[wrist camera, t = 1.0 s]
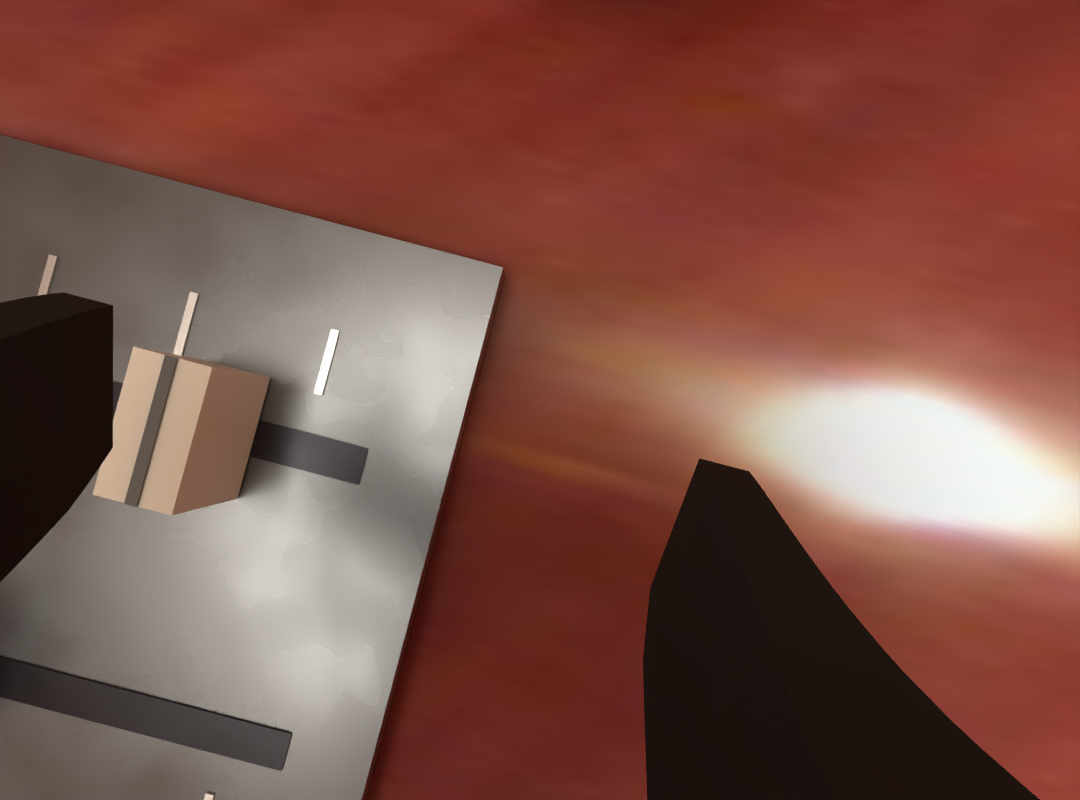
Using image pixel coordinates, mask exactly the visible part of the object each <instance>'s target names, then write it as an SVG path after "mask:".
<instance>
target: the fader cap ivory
mask: <svg viewBox="0 0 1080 800" xmlns="http://www.w3.org/2000/svg"><path fill="white" fill-rule="evenodd" d="M269 381H270V377H267V376H263V375H259V374H256V373H252V372H248V371H244V370H240V369H237V368H233V367H229V366H225V365H221V364H218V363H214V362H210V361H206V360H201V359H196V358H191V357H186V356H180V355H175V354H170V353H165V352H160V351H154V350H149V349H144V348H139V347H134V346H133V350H132V353H131V357H130V361H129V364H128V368H127V371H126V375H125V379H124V382H123V386H122V390H121V393H120V397H119V400H118V404H117V408H116V411H115V415H114V419H113V448H112V450H111V451H110V453H109V454H108V456H107V457H106V459H105V460H104V461H103V463H102V464H101V466H100V469H99V473H98V477H97V480H96V484H95V487H94V491H93V495H96V496H99V497H103V498H107V499H111V500H115V501H118V502H122V503H124V504H126V505H130V506H133V507H141V508H145V509H149V510H152V511H156V512H160V513H164V514H168V515H171V516H172V515H176V514H180V513H184V512H188V511H192V510H196V509H199V508H203V507H207V506H211V505H215V504H219V503H223V502H227V501H231V500H235V499H237V498H238V495H239V491H240V487H241V484H242V480H243V476H244V473H245V469H246V465H247V462H248V458H249V454H250V451H251V447H252V443H253V439H254V436H255V432H256V428H257V425H258V421H259V417H260V414H261V410H262V406H263V403H264V399H265V395H266V392H267V388H268V384H269Z"/></svg>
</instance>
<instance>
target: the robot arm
mask: <svg viewBox="0 0 1080 800" xmlns="http://www.w3.org/2000/svg"><path fill="white" fill-rule="evenodd" d="M112 448H113V305H110V304H106V303H102V302H99V301H95V300H91V299H87V298H83V297H80V296H76V295H72V294H68V293H64V292H62V293H53V294H44V295H38V296H32V297H26V298H21V299H16V300H11V301H6V302H1V303H0V582H1V581H2V580H3V579H4V578H5V577H6V576H7V575H8V574H9V573H10V572H11V571H12V570H13V569H14V568H15V567H16V566H17V565H18V564H19V563H20V562H21V561H22V560H23V558H24V557H25V556H26V555H27V554H28V553H29V552H30V551H31V550H32V549H33V548H34V547H35V546H36V545H37V544H38V543H39V542H40V541H41V540H42V538H43V537H44V536H45V535H46V534H47V533H48V532H49V531H50V530H51V529H52V528H53V527H54V526H55V525H56V524H57V523H58V521H59V520H60V519H61V518H62V517H63V516H64V515H65V514H66V513H67V512H68V511H69V509H70V508H71V507H72V505H73V504H74V502H75V501H76V500H77V498H78V497H79V496H80V494H81V493H82V492H83V490H84V489H85V488H86V486H87V485H88V483H89V482H90V481H91V479H92V478H93V476H94V475H95V473H96V472H97V470H98V469H99V467H100V466H101V464H102V463H103V461H104V460H105V459H106V457H107V456H108V454H109V453H110V451H111V450H112ZM643 674H644V712H645V742H646V771H647V800H1040V799H1038V798H1037V797H1036V796H1035V795H1034V794H1032V793H1031V792H1030V791H1029V790H1028V789H1027V788H1026V787H1024V786H1023V785H1022V784H1021V783H1020V782H1019V781H1018V780H1016V779H1015V778H1014V777H1013V776H1012V775H1011V774H1010V773H1009V772H1007V771H1006V770H1005V769H1004V768H1003V767H1002V766H1001V765H999V764H998V763H997V762H996V761H995V760H994V759H993V758H991V757H990V756H989V755H988V754H987V753H986V752H985V751H983V750H982V749H981V748H980V747H979V746H978V745H977V744H976V743H975V742H974V741H972V740H971V739H970V738H969V737H968V736H967V735H966V734H965V733H964V732H963V731H962V730H961V729H960V728H959V727H958V726H956V725H955V724H954V723H953V722H952V721H951V720H950V719H949V718H948V717H947V716H946V715H945V714H944V713H943V712H942V711H941V710H940V709H939V708H938V707H937V706H936V705H935V704H934V703H933V702H932V701H931V700H930V699H929V697H928V696H927V695H926V694H925V693H924V692H923V691H922V690H921V689H920V688H919V687H918V686H917V685H916V684H915V683H914V682H913V681H912V680H911V679H910V678H909V677H908V676H907V675H906V674H905V673H904V672H903V671H902V670H901V669H900V667H899V666H898V665H897V664H896V663H895V662H894V661H893V660H892V659H891V658H890V656H889V655H888V654H887V653H886V652H885V651H884V650H883V649H882V647H881V646H880V645H879V644H878V643H877V641H876V640H875V639H874V638H873V637H872V636H871V634H870V633H869V632H868V631H867V630H866V628H865V627H864V626H863V625H862V624H861V622H860V621H859V620H858V619H857V618H856V616H855V615H854V614H853V613H852V612H851V610H850V609H849V608H848V607H847V605H846V604H845V603H844V602H843V600H842V599H841V598H840V596H839V595H838V594H837V593H836V591H835V590H834V589H833V587H832V586H831V585H830V584H829V582H828V581H827V580H826V578H825V577H824V576H823V574H822V573H821V572H820V570H819V569H818V567H817V566H816V565H815V563H814V562H813V561H812V559H811V558H810V557H809V555H808V554H807V552H806V551H805V550H804V548H803V547H802V545H801V544H800V543H799V541H798V540H797V538H796V537H795V536H794V534H793V533H792V531H791V530H790V528H789V527H788V525H787V524H786V523H785V521H784V520H783V518H782V517H781V515H780V514H779V512H778V511H777V510H776V508H775V507H774V505H773V504H772V502H771V501H770V499H769V498H768V497H767V495H766V494H765V492H764V491H763V489H762V488H761V487H760V485H759V484H758V483H757V481H756V480H755V479H754V477H753V476H752V475H751V473H750V472H749V471H745V470H741V469H737V468H734V467H730V466H726V465H722V464H718V463H715V462H711V461H707V460H703V459H699V461H698V464H697V466H696V469H695V472H694V474H693V477H692V480H691V482H690V485H689V487H688V490H687V493H686V495H685V498H684V501H683V503H682V506H681V509H680V511H679V514H678V516H677V519H676V522H675V524H674V527H673V530H672V532H671V535H670V538H669V540H668V543H667V545H666V548H665V551H664V553H663V556H662V559H661V561H660V564H659V567H658V569H657V572H656V574H655V577H654V580H653V582H652V585H651V588H650V597H649V606H648V615H647V624H646V635H645V646H644V656H643Z"/></svg>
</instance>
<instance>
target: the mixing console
mask: <svg viewBox="0 0 1080 800" xmlns="http://www.w3.org/2000/svg"><path fill="white" fill-rule="evenodd" d="M504 279H505V275H504V270H503V267H500V266H496V265H492V264H488V263H485V262H481V261H477V260H473V259H470V258H466V257H462V256H458V255H454V254H451V253H447V252H443V251H439V250H435V249H432V248H428V247H424V246H420V245H416V244H413V243H409V242H405V241H401V240H397V239H394V238H390V237H386V236H382V235H378V234H375V233H371V232H367V231H363V230H360V229H356V228H352V227H348V226H344V225H341V224H337V223H333V222H329V221H325V220H322V219H318V218H314V217H310V216H306V215H303V214H299V213H295V212H291V211H287V210H284V209H280V208H276V207H272V206H268V205H265V204H261V203H257V202H253V201H250V200H246V199H242V198H238V197H234V196H231V195H227V194H223V193H219V192H215V191H212V190H208V189H204V188H200V187H196V186H193V185H189V184H185V183H181V182H177V181H174V180H170V179H166V178H162V177H158V176H155V175H151V174H147V173H143V172H140V171H136V170H132V169H128V168H124V167H121V166H117V165H113V164H109V163H105V162H102V161H98V160H94V159H90V158H86V157H83V156H79V155H75V154H71V153H67V152H64V151H60V150H56V149H52V148H48V147H45V146H41V145H37V144H33V143H30V142H26V141H22V140H18V139H14V138H11V137H7V136H3V135H0V303H1V302H6V301H11V300H16V299H21V298H26V297H32V296H38V295H44V294H53V293H62V292H64V293H68V294H72V295H76V296H80V297H83V298H87V299H91V300H95V301H99V302H102V303H106V304H110V305H113V419H114V415H115V411H116V408H117V404H118V400H119V397H120V393H121V390H122V386H123V382H124V379H125V375H126V371H127V368H128V364H129V361H130V357H131V353H132V350H133V346H134V347H139V348H144V349H149V350H154V351H160V352H165V353H170V354H175V355H180V356H186V357H191V358H196V359H201V360H206V361H210V362H214V363H218V364H221V365H225V366H229V367H233V368H237V369H240V370H244V371H248V372H252V373H256V374H259V375H263V376H267V377H270V381H269V384H268V388H267V392H266V395H265V399H264V403H263V406H262V410H261V414H260V417H259V421H258V425H257V428H256V432H255V436H254V439H253V443H252V447H251V451H250V454H249V458H248V462H247V465H246V469H245V473H244V476H243V480H242V484H241V487H240V491H239V495H238V498H237V499H235V500H231V501H227V502H223V503H219V504H215V505H211V506H207V507H203V508H199V509H196V510H192V511H188V512H184V513H180V514H176V515H172V516H171V515H168V514H164V513H160V512H156V511H152V510H149V509H145V508H141V507H133V506H130V505H126V504H124V503H122V502H118V501H115V500H111V499H107V498H103V497H99V496H96V495H93V491H94V487H95V484H96V480H97V477H98V473H99V469H100V467H99V469H98V470H97V472H96V473H95V475H94V476H93V478H92V479H91V481H90V482H89V483H88V485H87V486H86V488H85V489H84V490H83V492H82V493H81V494H80V496H79V497H78V498H77V500H76V501H75V502H74V504H73V505H72V507H71V508H70V509H69V511H68V512H67V513H66V514H65V515H64V516H63V517H62V518H61V519H60V520H59V521H58V523H57V524H56V525H55V526H54V527H53V528H52V529H51V530H50V531H49V532H48V533H47V534H46V535H45V536H44V537H43V538H42V540H41V541H40V542H39V543H38V544H37V545H36V546H35V547H34V548H33V549H32V550H31V551H30V552H29V553H28V554H27V555H26V556H25V557H24V558H23V560H22V561H21V562H20V563H19V564H18V565H17V566H16V567H15V568H14V569H13V570H12V571H11V572H10V573H9V574H8V575H7V576H6V577H5V578H4V579H3V580H2V581H1V582H0V800H366V798H367V795H368V791H369V787H370V783H371V780H372V776H373V772H374V768H375V764H376V761H377V757H378V753H379V749H380V746H381V742H382V738H383V734H384V731H385V727H386V723H387V719H388V716H389V712H390V708H391V704H392V700H393V697H394V693H395V689H396V685H397V682H398V678H399V674H400V670H401V667H402V663H403V659H404V655H405V652H406V648H407V644H408V640H409V636H410V633H411V629H412V625H413V621H414V618H415V614H416V610H417V606H418V603H419V599H420V595H421V591H422V588H423V584H424V580H425V576H426V572H427V569H428V565H429V561H430V557H431V554H432V550H433V546H434V542H435V539H436V535H437V531H438V527H439V524H440V520H441V516H442V512H443V508H444V505H445V501H446V497H447V493H448V490H449V486H450V482H451V478H452V475H453V471H454V467H455V463H456V459H457V456H458V452H459V448H460V444H461V441H462V437H463V433H464V429H465V426H466V422H467V418H468V414H469V411H470V407H471V403H472V399H473V395H474V392H475V388H476V384H477V380H478V377H479V373H480V369H481V365H482V362H483V358H484V354H485V350H486V347H487V343H488V339H489V335H490V331H491V328H492V324H493V320H494V316H495V313H496V309H497V305H498V301H499V298H500V294H501V290H502V286H503V283H504Z"/></svg>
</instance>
